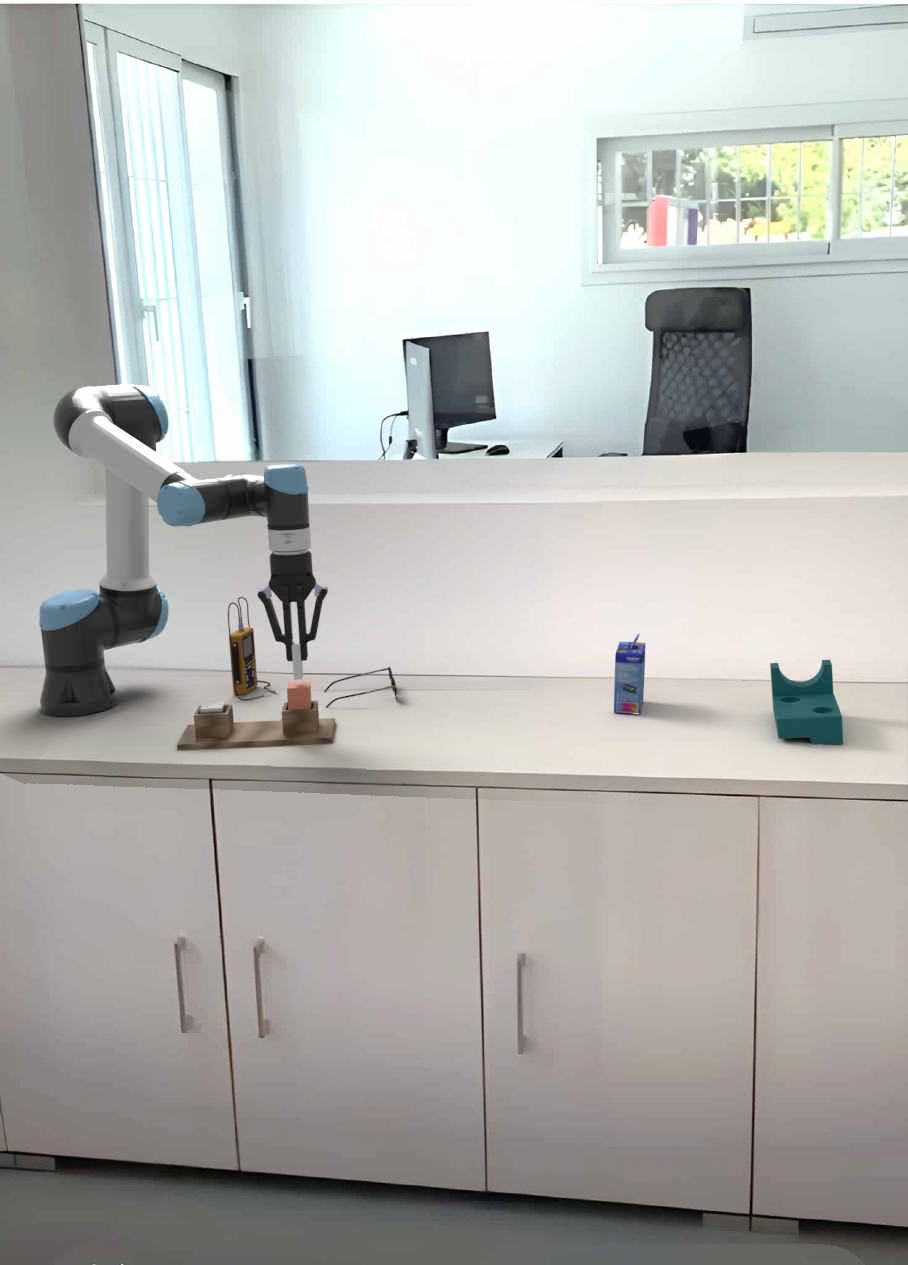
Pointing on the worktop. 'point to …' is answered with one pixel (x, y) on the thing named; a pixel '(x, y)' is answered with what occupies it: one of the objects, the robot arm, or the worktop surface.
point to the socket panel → (257, 730)
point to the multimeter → (243, 658)
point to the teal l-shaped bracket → (807, 707)
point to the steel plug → (213, 708)
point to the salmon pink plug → (299, 696)
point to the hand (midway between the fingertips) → (298, 677)
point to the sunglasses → (368, 691)
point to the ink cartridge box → (629, 677)
